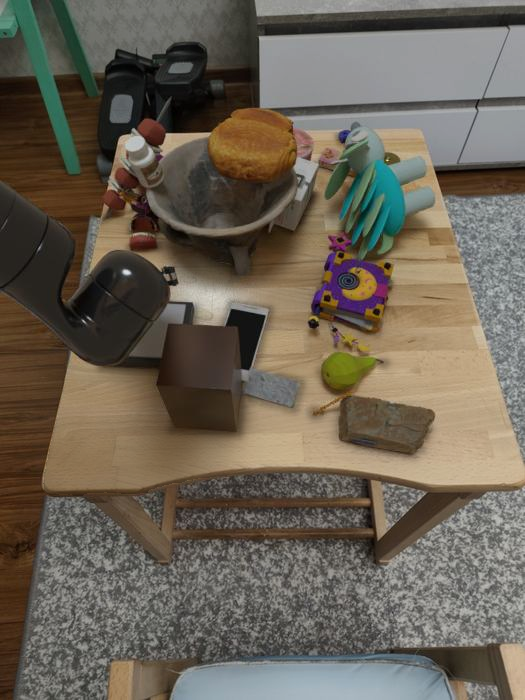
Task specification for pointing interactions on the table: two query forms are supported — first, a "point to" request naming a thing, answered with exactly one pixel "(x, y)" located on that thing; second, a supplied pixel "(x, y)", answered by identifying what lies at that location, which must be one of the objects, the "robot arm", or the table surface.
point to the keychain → (333, 401)
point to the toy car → (137, 203)
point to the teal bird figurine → (377, 189)
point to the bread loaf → (253, 146)
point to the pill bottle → (144, 162)
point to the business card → (271, 387)
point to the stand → (201, 376)
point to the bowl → (215, 206)
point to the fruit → (345, 369)
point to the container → (303, 144)
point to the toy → (331, 156)
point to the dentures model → (143, 238)
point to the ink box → (298, 195)
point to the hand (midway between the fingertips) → (130, 282)
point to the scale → (158, 336)
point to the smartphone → (247, 331)
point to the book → (351, 291)
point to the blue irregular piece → (343, 135)
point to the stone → (383, 423)
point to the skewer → (126, 175)
